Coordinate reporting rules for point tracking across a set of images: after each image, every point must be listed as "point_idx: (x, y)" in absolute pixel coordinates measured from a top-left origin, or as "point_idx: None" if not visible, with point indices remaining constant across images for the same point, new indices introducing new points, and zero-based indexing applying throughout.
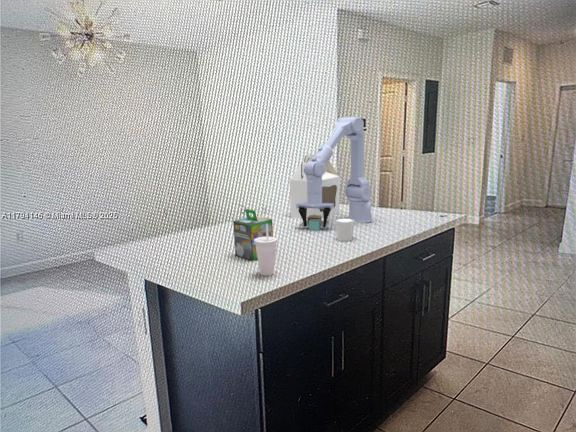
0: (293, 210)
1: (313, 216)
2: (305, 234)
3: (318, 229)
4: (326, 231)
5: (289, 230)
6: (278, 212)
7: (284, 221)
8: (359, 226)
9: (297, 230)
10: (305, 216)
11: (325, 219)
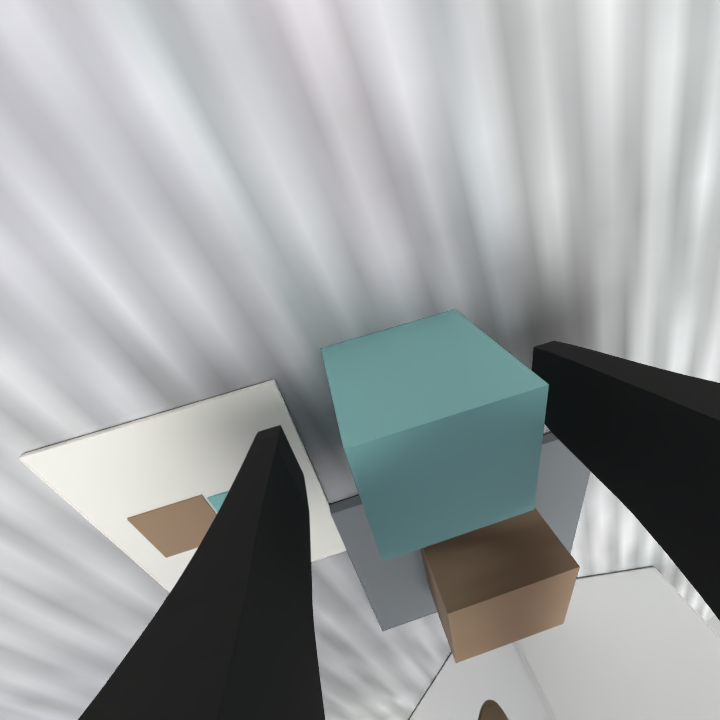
0: (692, 631)
1: (521, 613)
2: (452, 60)
3: (332, 359)
4: (229, 391)
5: (698, 233)
6: None
7: None
8: (58, 664)
9: (601, 276)
10: (684, 481)
11: (208, 551)
